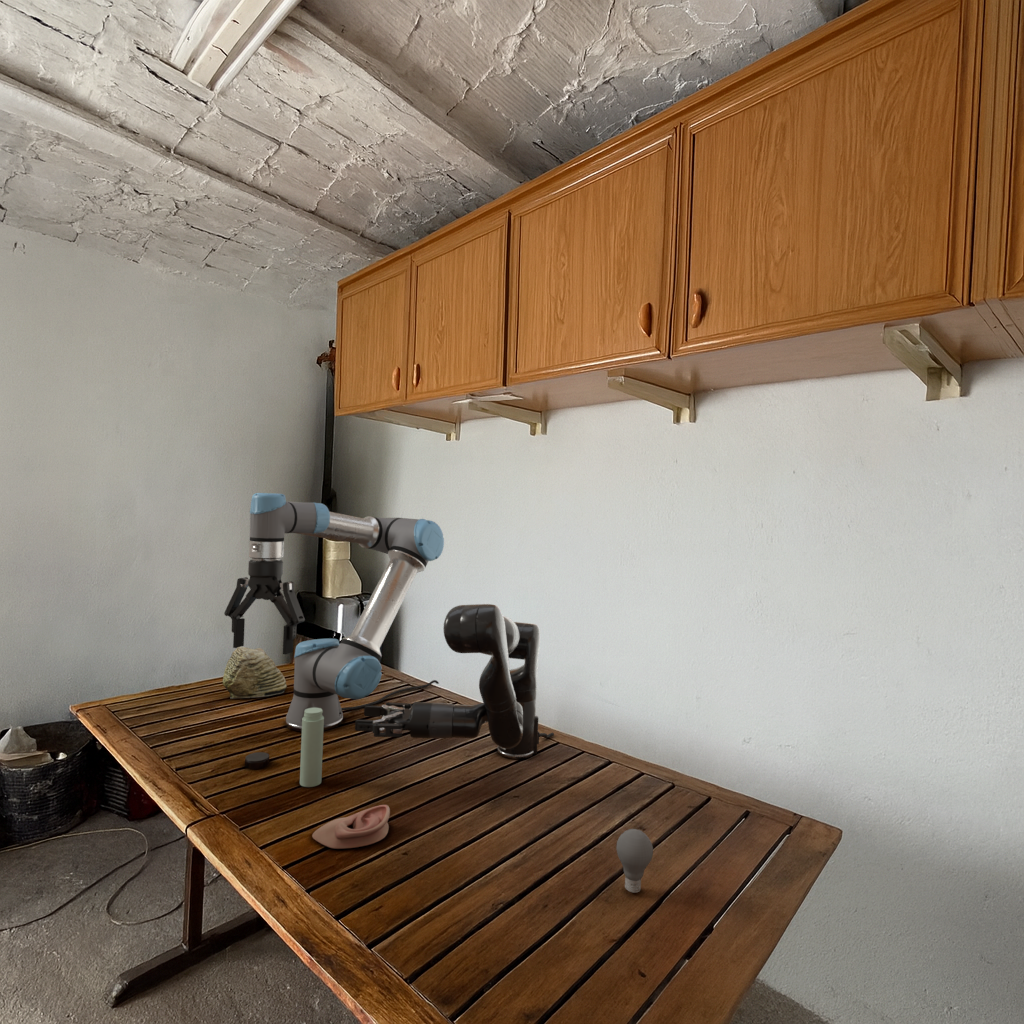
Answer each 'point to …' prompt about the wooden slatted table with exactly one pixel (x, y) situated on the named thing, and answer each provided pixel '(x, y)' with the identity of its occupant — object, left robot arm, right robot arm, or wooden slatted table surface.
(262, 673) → the fossil
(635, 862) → the light bulb
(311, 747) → the pale green cylinder
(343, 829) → the anatomical model
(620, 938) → the wooden slatted table surface
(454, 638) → the right robot arm
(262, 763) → the lid
